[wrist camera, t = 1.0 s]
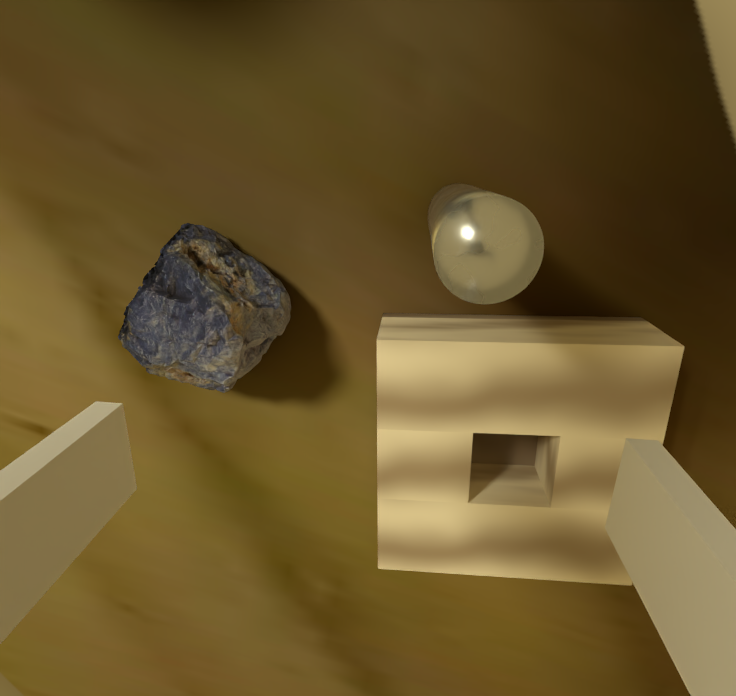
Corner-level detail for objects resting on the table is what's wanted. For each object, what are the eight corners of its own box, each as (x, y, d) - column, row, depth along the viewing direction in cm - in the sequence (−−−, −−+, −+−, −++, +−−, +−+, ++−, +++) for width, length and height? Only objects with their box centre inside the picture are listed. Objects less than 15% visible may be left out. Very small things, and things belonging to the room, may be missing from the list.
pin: (428, 183, 33) (435, 195, 18) (489, 182, 32) (549, 194, 17) (426, 244, 34) (431, 303, 19) (485, 244, 34) (537, 305, 19)
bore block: (383, 313, 36) (376, 339, 30) (641, 317, 34) (684, 346, 29) (383, 515, 42) (378, 568, 37) (602, 527, 40) (631, 585, 35)
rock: (159, 195, 32) (140, 290, 25) (298, 254, 37) (315, 345, 31) (113, 310, 38) (87, 413, 31) (240, 347, 43) (242, 442, 36)
